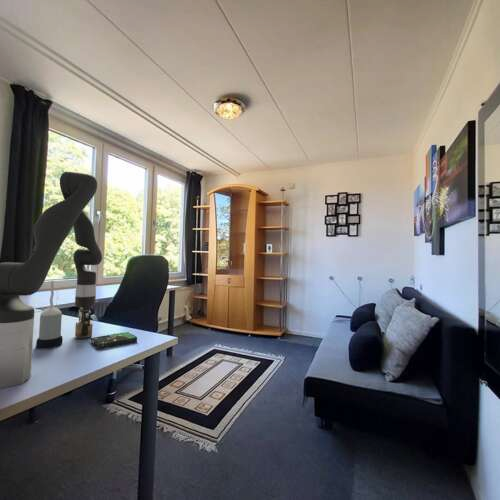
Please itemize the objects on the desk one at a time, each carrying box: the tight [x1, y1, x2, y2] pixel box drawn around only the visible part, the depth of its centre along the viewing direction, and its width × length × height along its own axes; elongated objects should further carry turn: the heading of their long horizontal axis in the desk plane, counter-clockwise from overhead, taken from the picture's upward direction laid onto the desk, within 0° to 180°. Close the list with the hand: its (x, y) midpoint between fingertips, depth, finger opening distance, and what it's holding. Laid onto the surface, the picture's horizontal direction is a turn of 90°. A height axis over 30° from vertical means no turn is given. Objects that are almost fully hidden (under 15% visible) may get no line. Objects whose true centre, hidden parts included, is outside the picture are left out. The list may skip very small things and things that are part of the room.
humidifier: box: [35, 280, 64, 350], centre depth 103 cm, size 8×8×25 cm
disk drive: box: [90, 331, 138, 351], centre depth 109 cm, size 10×3×15 cm
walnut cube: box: [74, 320, 93, 340], centre depth 114 cm, size 6×6×6 cm
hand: (83, 334), depth 114 cm, fingers closed on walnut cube, 5 cm apart
